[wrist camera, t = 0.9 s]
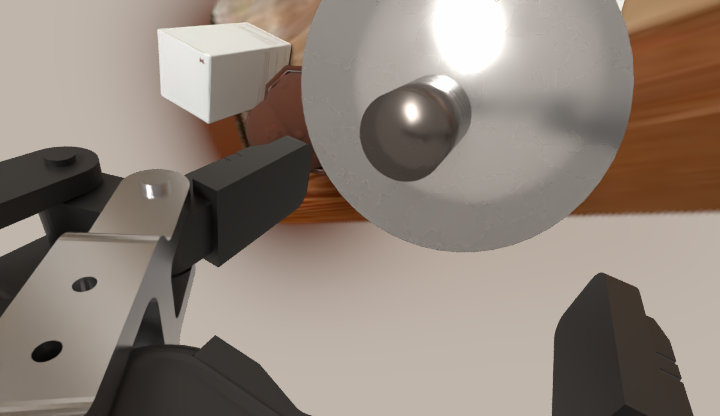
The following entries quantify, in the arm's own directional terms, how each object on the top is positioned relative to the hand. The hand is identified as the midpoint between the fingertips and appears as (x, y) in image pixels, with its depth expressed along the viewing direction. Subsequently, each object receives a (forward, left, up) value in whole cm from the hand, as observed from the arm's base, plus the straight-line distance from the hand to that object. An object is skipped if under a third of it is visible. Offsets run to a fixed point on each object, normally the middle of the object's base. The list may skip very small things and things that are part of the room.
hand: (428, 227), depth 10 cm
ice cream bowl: (+19, +5, -30) cm, 36 cm away
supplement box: (+32, +1, -30) cm, 44 cm away
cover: (+3, 0, -29) cm, 30 cm away
